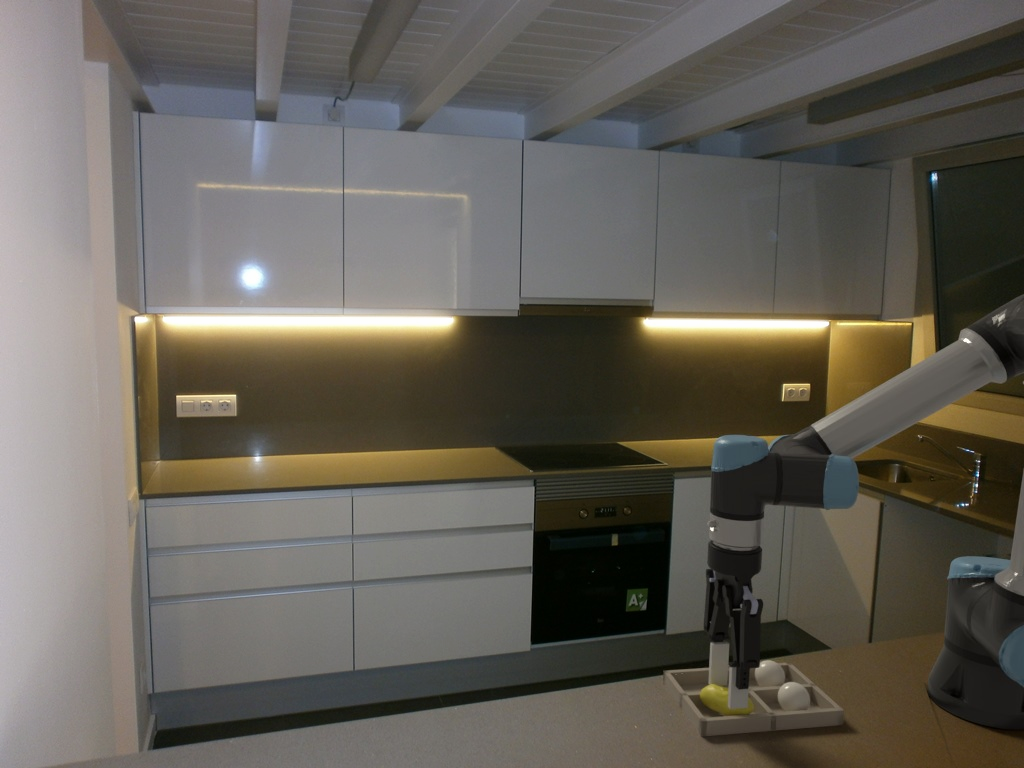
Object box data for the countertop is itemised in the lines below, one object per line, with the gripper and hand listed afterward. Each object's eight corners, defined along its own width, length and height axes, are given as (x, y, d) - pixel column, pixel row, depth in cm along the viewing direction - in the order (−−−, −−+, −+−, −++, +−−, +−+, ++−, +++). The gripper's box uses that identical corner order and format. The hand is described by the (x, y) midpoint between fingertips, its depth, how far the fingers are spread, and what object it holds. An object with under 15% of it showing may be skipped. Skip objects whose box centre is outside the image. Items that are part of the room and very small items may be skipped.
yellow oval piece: (706, 697, 115) (707, 673, 115) (757, 716, 110) (759, 691, 110) (694, 708, 112) (695, 684, 111) (746, 728, 107) (748, 702, 107)
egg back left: (809, 708, 114) (810, 679, 114) (809, 723, 110) (811, 694, 110) (777, 702, 116) (778, 674, 115) (776, 717, 112) (778, 687, 111)
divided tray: (789, 678, 125) (790, 662, 125) (842, 728, 110) (843, 710, 110) (662, 687, 121) (663, 670, 121) (700, 740, 106) (701, 721, 106)
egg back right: (784, 685, 121) (786, 658, 121) (784, 699, 117) (785, 670, 116) (754, 680, 123) (756, 653, 122) (753, 693, 119) (754, 665, 118)
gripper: (685, 524, 117) (678, 666, 120) (741, 566, 99) (732, 732, 101) (730, 523, 118) (723, 663, 121) (793, 563, 100) (784, 728, 102)
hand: (727, 695), depth 111 cm, fingers closed on yellow oval piece, 6 cm apart
